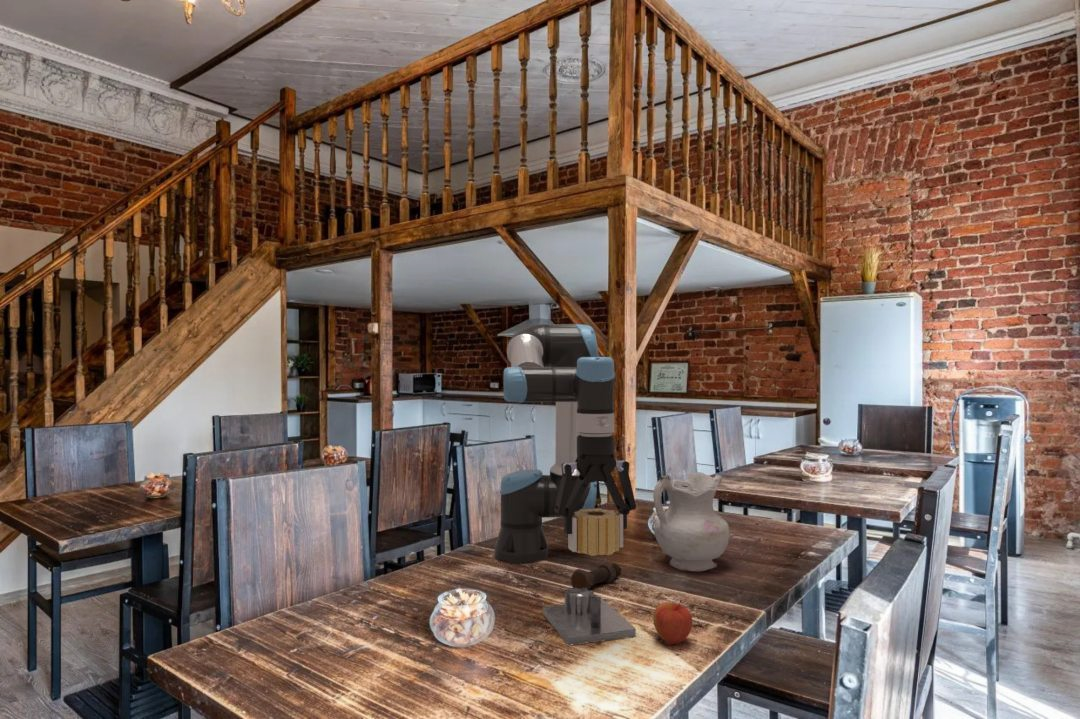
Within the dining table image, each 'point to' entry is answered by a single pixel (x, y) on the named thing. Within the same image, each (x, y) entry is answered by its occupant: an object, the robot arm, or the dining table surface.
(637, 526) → the dining table surface
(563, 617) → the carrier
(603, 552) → the gear
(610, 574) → the bolt
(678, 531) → the ceramic pitcher
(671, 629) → the apple
